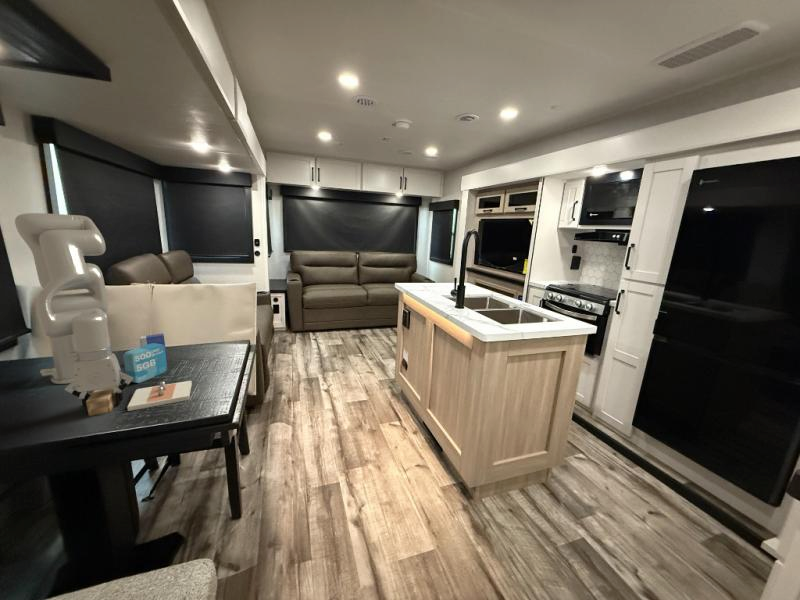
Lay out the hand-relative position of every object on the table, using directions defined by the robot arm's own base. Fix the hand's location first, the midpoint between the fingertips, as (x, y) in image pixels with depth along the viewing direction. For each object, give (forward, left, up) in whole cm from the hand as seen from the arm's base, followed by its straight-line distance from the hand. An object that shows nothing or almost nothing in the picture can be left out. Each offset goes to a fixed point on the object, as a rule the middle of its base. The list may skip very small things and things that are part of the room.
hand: (104, 404), depth 98 cm
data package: (+8, +19, -1) cm, 21 cm away
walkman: (+8, +34, -1) cm, 35 cm away
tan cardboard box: (0, 0, -1) cm, 1 cm away
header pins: (+15, 0, +1) cm, 15 cm away
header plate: (+15, 0, -1) cm, 15 cm away
